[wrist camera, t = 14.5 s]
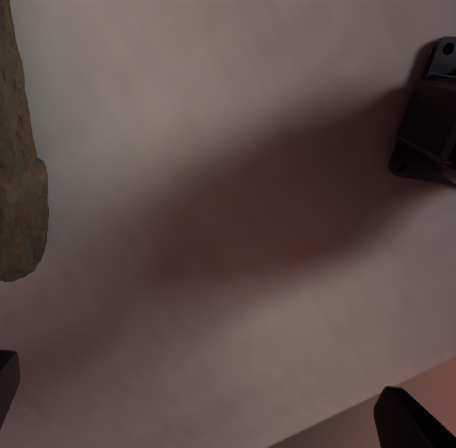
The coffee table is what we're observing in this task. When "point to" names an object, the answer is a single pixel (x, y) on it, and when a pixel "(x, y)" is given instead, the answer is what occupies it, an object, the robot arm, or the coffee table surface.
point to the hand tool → (18, 167)
